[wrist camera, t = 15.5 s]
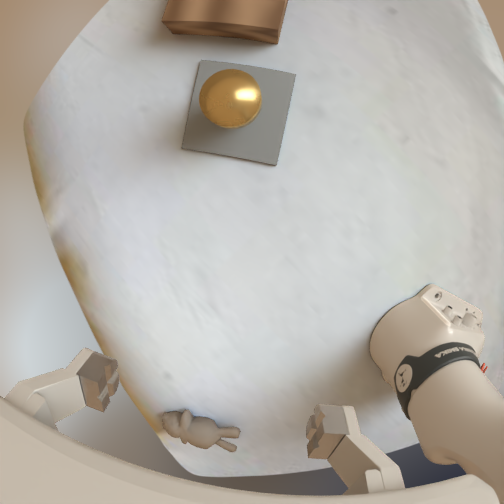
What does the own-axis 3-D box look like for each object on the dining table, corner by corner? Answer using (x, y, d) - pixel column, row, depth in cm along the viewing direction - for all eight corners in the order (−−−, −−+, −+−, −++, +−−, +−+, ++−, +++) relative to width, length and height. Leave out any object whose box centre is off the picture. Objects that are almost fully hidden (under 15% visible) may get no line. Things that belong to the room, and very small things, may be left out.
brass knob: (267, 91, 32) (266, 74, 25) (258, 137, 34) (254, 131, 27) (219, 83, 32) (206, 65, 25) (210, 128, 34) (193, 121, 27)
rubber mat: (295, 75, 32) (295, 74, 31) (276, 165, 36) (276, 165, 35) (201, 61, 32) (201, 60, 31) (183, 148, 36) (181, 148, 35)
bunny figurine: (157, 413, 46) (238, 438, 44) (168, 396, 51) (244, 418, 49) (160, 440, 49) (232, 462, 47) (169, 424, 54) (238, 444, 52)
